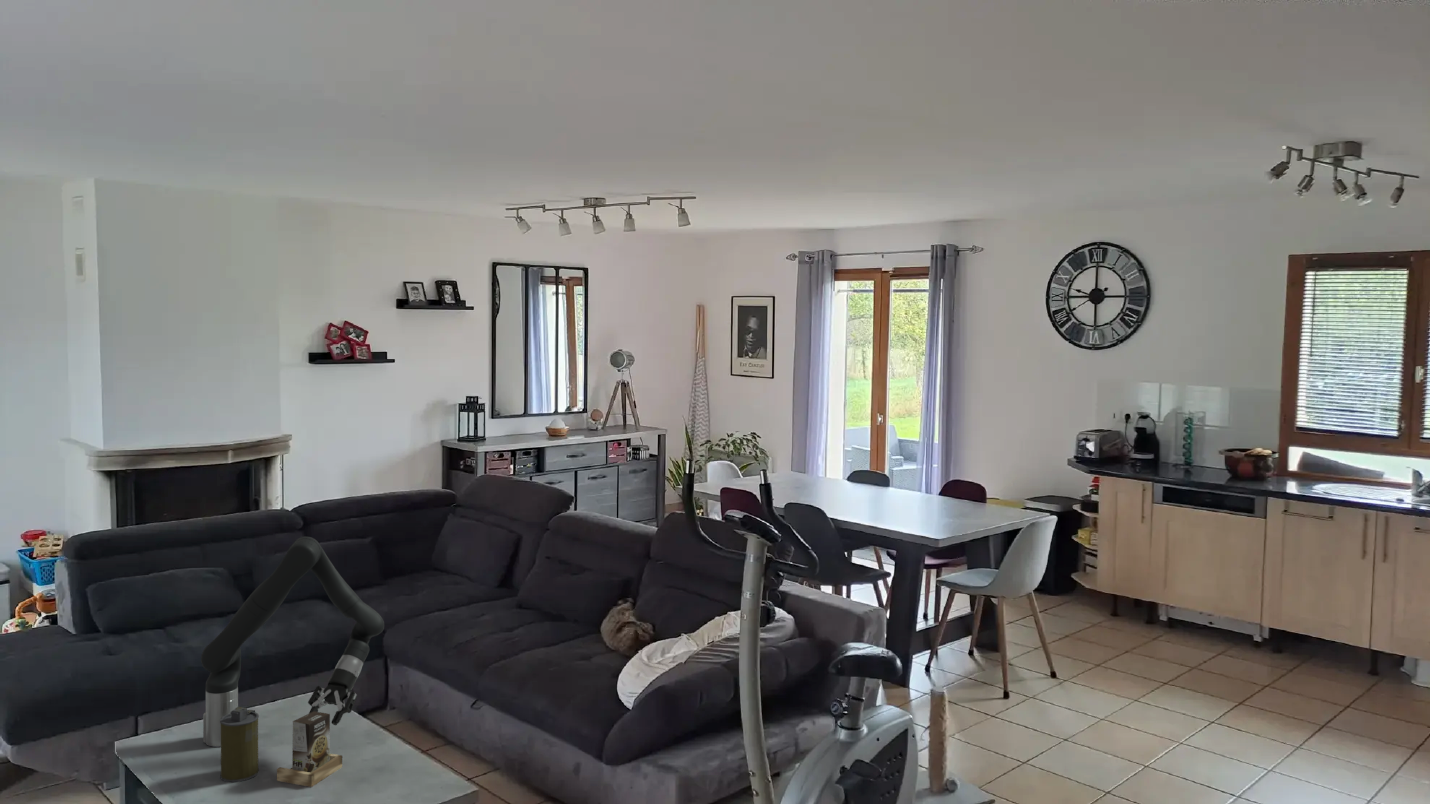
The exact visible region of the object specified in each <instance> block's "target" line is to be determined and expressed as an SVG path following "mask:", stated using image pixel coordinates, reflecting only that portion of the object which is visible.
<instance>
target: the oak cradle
mask: <svg viewBox="0 0 1430 804" xmlns="http://www.w3.org/2000/svg"><path fill="white" fill-rule="evenodd" d="M341 768H343V755H341V754H337V753H335V754H334V753H330V761H329V762H327V763H325V764H324V765H322V766H321V767H319V768H318V769H316V770H314V771H313V772H311V773H310V772H304V771H299V770H293V769H292V767H290V768H287V767H281V766H279V767H278V768H276V781H277V782H282V783H288V784H291V785H292V784H293V785H299V786H303V787H304V786H305V787H310V788H312V787H314V786H316V785H317V784H318V783H321V782H322V781H323V780H324V779H326V778H328V777H329V776H331V775H333V774H334V773H336V772H337V771H338V770H340V769H341Z"/></svg>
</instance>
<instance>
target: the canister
mask: <svg viewBox="0 0 1430 804" xmlns="http://www.w3.org/2000/svg"><path fill="white" fill-rule="evenodd" d="M259 717H260V715H259V713H258V712H256V710H254V709H248V708H247V707H241V706H238V707H237V708H235V709H234V710H232V711H231V713H230V714H227V715H225V716H223V717H222V718H221V719H220V723H221V746H220V777H219V778H220V780H222V781H223V782H227V783H238V782H239V783H240V782H242V781H243V782H244V781H247V780H250V779H253V778H254V777H256V776H257V775H258V774H259V773H260V769H259Z"/></svg>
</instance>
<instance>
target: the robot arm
mask: <svg viewBox="0 0 1430 804" xmlns="http://www.w3.org/2000/svg"><path fill="white" fill-rule="evenodd" d="M309 571H311V572H312V573H313V574H314V575H315V576H316V578H317V579H318V581H320V583H321V585H322V587H323V589H324V591H325V593H326V595H327V596H328V598H329V600H330V601H331V603H332V604H333V605H334V607H336V609H338V611H339V612H340V613H341V614H342V615H343V617H345V618H347V619H352V620H354V621H355V623H354V625H353V628H352V629H351V632H350V637H349V640H348V643H347V646H346V647H345V649H344V652H343V654H342V655H341V657H340V659H338V662H337V664H336V665H335V668H333V671H332V673H331V675H330V677H329V678H328V682H327V686H326V687H325V688H324V687H321V686H320V685H318V686H316V687H315V689H314V691H313V693H312V694H311V697H309V699H308V702H307V703H308V705H309V706H311V708H310V711H309V712H308V714H309V713H311V712H313V711H315V712H319V709H321V708H322V707H325V706H326V705H334V706H337V710H336V712H335V714H334V716H333V718H332V720H331V721H330V724H332V725H333V726H338V724H339V723H340V722H341V720H342V717H343V716H344V715H345V714H351V712H352V711H353V707H354V706H355V703H356V700H357V698H358V694H357V693H356V692H355V691H353V688H354V686H355V684H356V681H357V680H358V678H359V675H360V674H361V672H362V668H363V666H364V663H365V661H366V659H367V657H368V656H369V653H370V646H369V643H370V641H371V638H373V637H376V636H378V635H380V634H381V633H382V632H383V631H384V629H385V621H384V618H383V617H382V616H381V614H380V613H378V611H376V610H375V609H374V608H372V606H370V605H368V604H367V603H365V602H364V600H362V599H361V598H360V597H359V595H358V594H357V593H356V592H355V591H354V590H353V589H352V587H351V586H350V585H349V584H348V583H347V582H346V581H345V579H344V578H343V577H342V576H341V574H340V572H339V571H338V570H337V568H336V567H335V566H334V564H333V563H332V561H331V560H330V558H329V557H328V556H327V554H326V552H325V550H324V549H323V547H322V546H321V544H320V542H319V541H318V540H316V539H315V538H314V537H311V536H301V537H299V538H296V540H295V541H294V542H293V543H292V545H290V547H289V549H288V550H287V551H286V554H285V555H284V557H283V558H282V560H281V561H280V563H279V565H278V566H276V568H275V569H274V571H273V573H271V574H270V576H269V577H267V578H266V579H265V580H264V581H262V582H261V583H260V584H259V585H258V586H257V587H256V588H255V589H254V590H253V591H252V593H251V594H250V595H249V596H248V597H247V599H245V601H244V602H243V604H242V605H241V606H240V607H239V608H238V610H237V611H236V613H235V614H234V615H233V617H232V618H231V619H230V621H229V622H228V624H227V625H226V627H224V629H223V630H222V631H221V632H220V633H219V634H218V635H217V636H216V637H215V638H214V639H213V640H212V641H211V642H210V643H209V644H207V645H206V647H205V648H204V649H203V650H202V652H201V656H200V662H201V665H202V666H201V667H202V668H203V669H204V670H205V671H207V672H209V675H208V677H207V679H206V681H205V712H204V713H202V714H203V715H202V716H203V717H202V718H203V719H202V725H203V726H202V728H203V729H202V730H203V731H202V733H203V734H202V735H203V743H205V744H206V745H207V746H210V747H221V723H220V719H221V718H222V717H223V716H225V715H227V714H230V713H231V711H232V710H234V709H235V708H237V707H239V687H238V686H239V679H240V677H241V666H242V665H241V664H242V652H241V651H242V650H241V646H242V645H243V644H244V643H245V642H246V641H247V640H248V639H249V638H250V637H252V636H253V635H254V634H255V633H256V632H257V631H258V630H260V629H261V628H262V627H263V626H264V625H265V624H266V623H267V622H268V621H269V620H270V619H271V618H272V616H273V615H274V614H276V612H277V611H278V609H279V608H280V606H281V605H282V604H283V602H284V601H285V599H286V598H287V596H288V594H289V593H290V591H291V589H292V588H293V587H294V585H296V583H298V581H300V580H301V579H302V577H304V576H305V575H306V574H307V573H308V572H309ZM345 700H346V702H345Z"/></svg>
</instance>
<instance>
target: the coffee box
mask: <svg viewBox="0 0 1430 804" xmlns="http://www.w3.org/2000/svg"><path fill="white" fill-rule="evenodd" d="M330 732H331V714H330V713H326V712H320V711H318V712H315V711H313V712H311V713H309V712H308V713H307V714H306V715H305V714H304V715H303V716H301V717H299V718H296V719H294V720H293V721H292V747H291V748H292V757H291V758H292V759H291V760H292V762H291V763H292V764H291V765H292V766H291V768H292V769H293V770H299V771H304V772H310V773H311V772H313V771H314V770H316V769H318V768H319V767H321V766H322V765H324V764H325V763H327V762H329V761H330V754H331V753H330V751H331V750H330V749H331V748H330V747H331V746H330V744H331V743H330V740H331V739H330V737H331V734H330Z"/></svg>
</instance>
